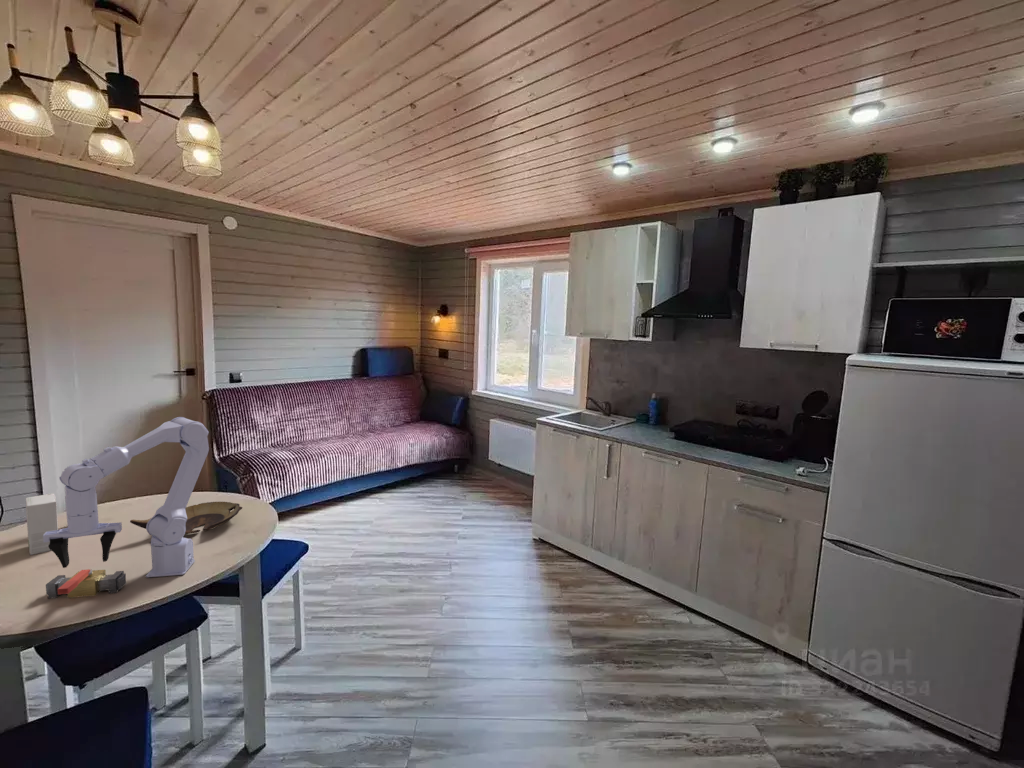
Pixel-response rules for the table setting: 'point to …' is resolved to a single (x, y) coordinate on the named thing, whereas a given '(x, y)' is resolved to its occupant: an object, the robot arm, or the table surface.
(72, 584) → the lever
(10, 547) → the table surface
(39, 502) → the skincare box
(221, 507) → the olive brown leaf dish
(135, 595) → the table surface
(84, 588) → the pipe valve
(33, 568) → the table surface
